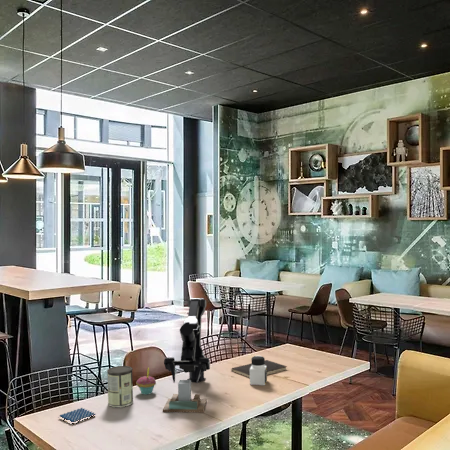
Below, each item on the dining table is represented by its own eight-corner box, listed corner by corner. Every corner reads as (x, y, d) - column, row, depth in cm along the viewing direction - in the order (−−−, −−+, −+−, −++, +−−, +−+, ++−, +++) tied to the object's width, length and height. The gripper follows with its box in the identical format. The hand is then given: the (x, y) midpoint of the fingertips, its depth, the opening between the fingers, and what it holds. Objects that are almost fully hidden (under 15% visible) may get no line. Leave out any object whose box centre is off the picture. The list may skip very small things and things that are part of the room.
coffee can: (116, 397, 206) (115, 364, 206) (137, 400, 203) (137, 366, 203) (102, 406, 197) (102, 371, 197) (124, 409, 193) (124, 373, 193)
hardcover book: (287, 370, 242) (286, 366, 242) (251, 380, 229) (251, 375, 229) (266, 364, 255) (265, 359, 255) (231, 372, 242) (231, 367, 242)
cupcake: (160, 392, 212) (159, 365, 212) (144, 397, 206) (144, 369, 206) (148, 388, 218) (147, 361, 218) (132, 393, 212) (132, 365, 212)
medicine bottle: (265, 385, 219) (264, 359, 219) (249, 384, 220) (249, 358, 220) (267, 380, 226) (266, 355, 226) (251, 380, 227) (251, 354, 227)
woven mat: (57, 420, 184) (57, 414, 184) (81, 412, 192) (81, 406, 192) (72, 427, 177) (72, 421, 177) (96, 418, 185) (96, 413, 185)
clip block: (180, 402, 197) (179, 379, 197) (191, 402, 197) (190, 380, 197) (178, 406, 192) (178, 383, 192) (189, 406, 192) (189, 383, 192)
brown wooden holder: (168, 401, 201) (168, 392, 201) (206, 401, 200) (206, 392, 200) (162, 412, 189) (162, 403, 189) (203, 412, 188) (203, 403, 188)
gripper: (212, 357, 212) (209, 391, 201) (169, 357, 213) (165, 391, 202) (209, 344, 204) (207, 379, 193) (166, 344, 205) (161, 378, 194)
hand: (185, 382), depth 196 cm, fingers open, 9 cm apart
